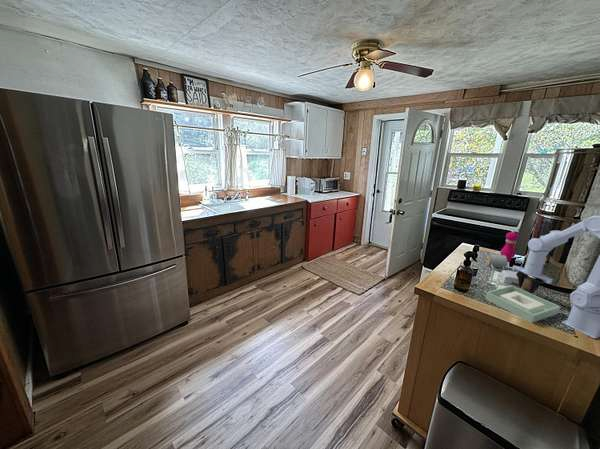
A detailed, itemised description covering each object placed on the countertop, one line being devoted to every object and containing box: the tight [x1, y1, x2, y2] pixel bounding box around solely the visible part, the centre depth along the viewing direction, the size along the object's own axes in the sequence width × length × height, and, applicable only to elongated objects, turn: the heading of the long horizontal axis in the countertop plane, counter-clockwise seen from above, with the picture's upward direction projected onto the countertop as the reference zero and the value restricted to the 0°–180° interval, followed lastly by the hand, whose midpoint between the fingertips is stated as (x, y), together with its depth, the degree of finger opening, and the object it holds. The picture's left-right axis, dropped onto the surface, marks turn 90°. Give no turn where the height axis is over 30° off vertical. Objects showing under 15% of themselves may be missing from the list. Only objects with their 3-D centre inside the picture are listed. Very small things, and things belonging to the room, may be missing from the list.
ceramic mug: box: [486, 254, 508, 272], centre depth 146 cm, size 11×8×8 cm
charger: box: [500, 269, 519, 287], centre depth 132 cm, size 5×9×15 cm
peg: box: [520, 276, 534, 294], centre depth 118 cm, size 4×4×8 cm
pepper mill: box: [499, 229, 519, 263], centre depth 155 cm, size 7×7×20 cm
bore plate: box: [499, 291, 545, 314], centre depth 108 cm, size 11×11×3 cm
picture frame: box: [484, 285, 562, 324], centre depth 108 cm, size 18×18×4 cm
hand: (526, 289), depth 118 cm, fingers closed on peg, 4 cm apart
